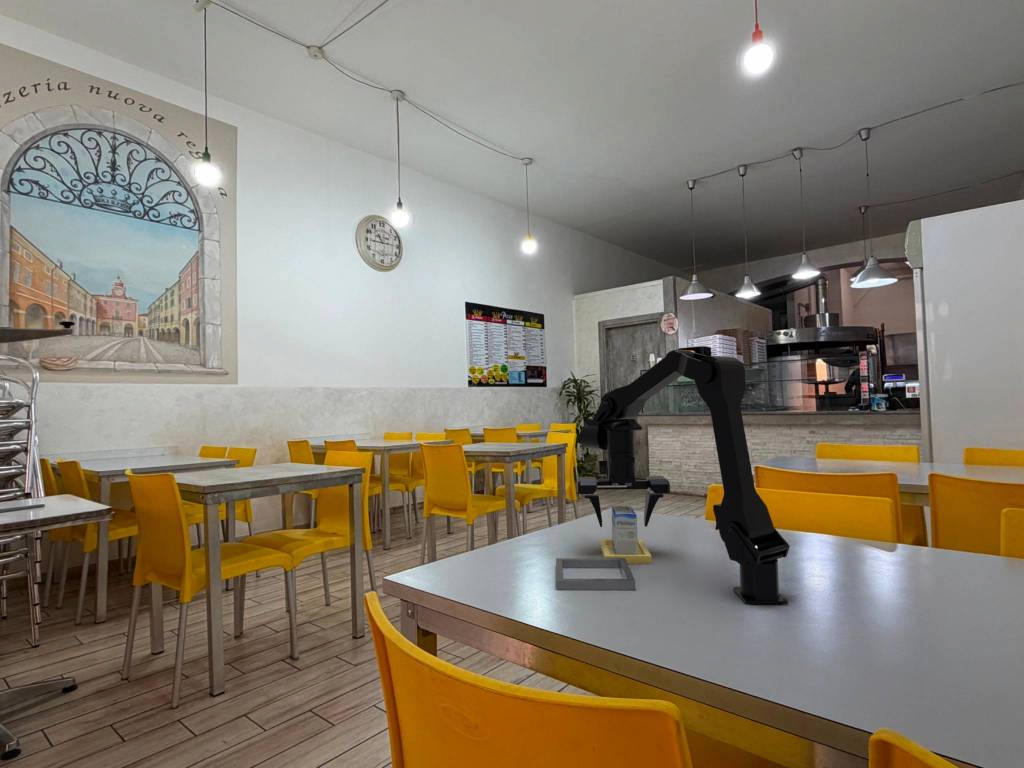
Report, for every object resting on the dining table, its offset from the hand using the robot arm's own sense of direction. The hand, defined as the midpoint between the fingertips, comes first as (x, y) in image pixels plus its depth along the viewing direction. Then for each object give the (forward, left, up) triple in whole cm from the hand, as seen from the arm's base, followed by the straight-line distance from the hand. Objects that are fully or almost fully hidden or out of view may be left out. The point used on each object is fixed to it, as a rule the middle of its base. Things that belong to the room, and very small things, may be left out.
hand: (623, 526), depth 114 cm
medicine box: (0, 0, -5) cm, 5 cm away
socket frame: (-15, +8, -6) cm, 17 cm away
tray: (0, 0, -6) cm, 6 cm away
